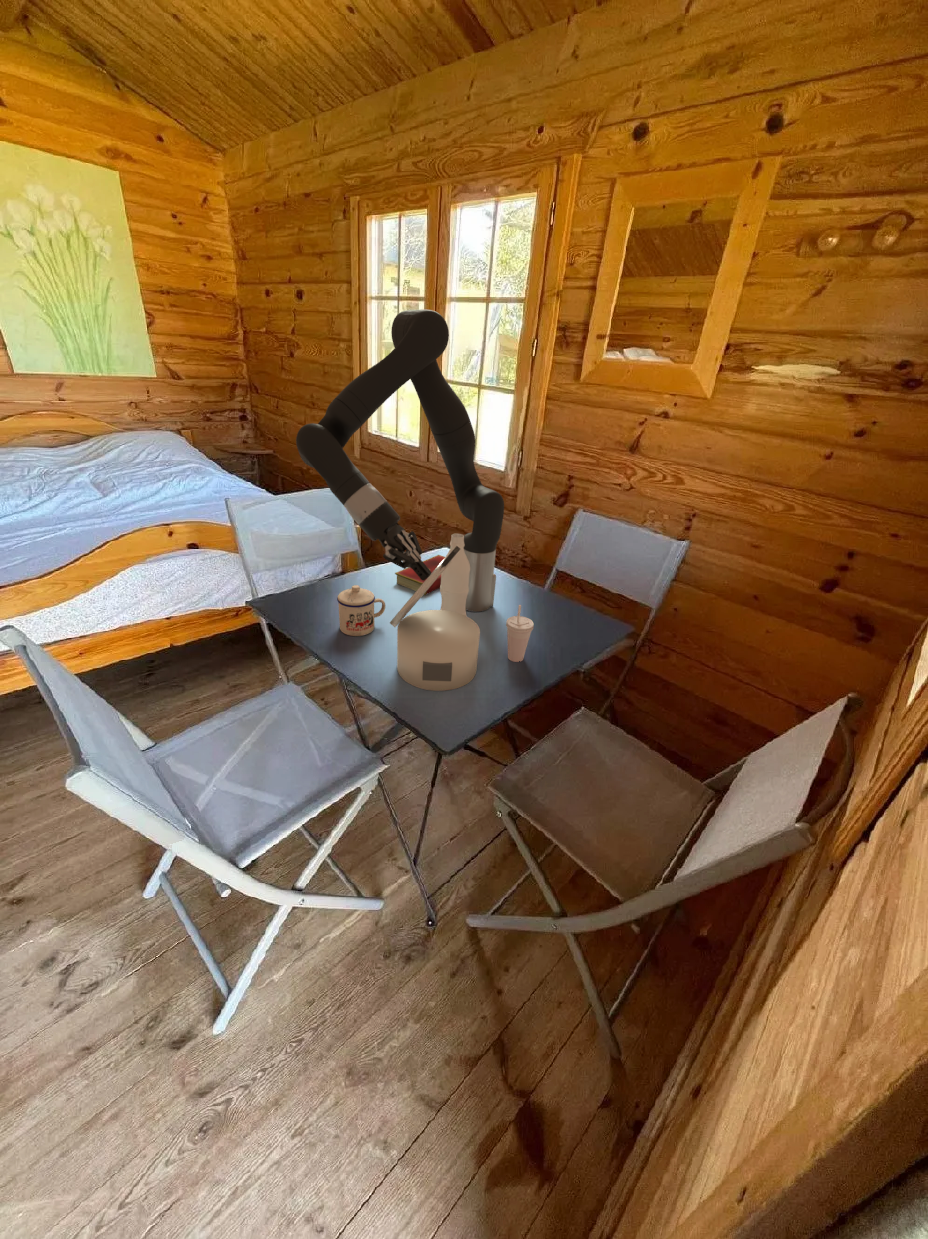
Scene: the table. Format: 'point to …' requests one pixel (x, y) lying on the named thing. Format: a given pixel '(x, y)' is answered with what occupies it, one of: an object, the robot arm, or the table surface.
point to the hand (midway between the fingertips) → (427, 577)
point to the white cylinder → (437, 649)
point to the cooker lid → (423, 588)
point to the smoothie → (518, 636)
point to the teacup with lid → (357, 611)
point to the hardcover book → (413, 580)
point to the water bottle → (455, 579)
